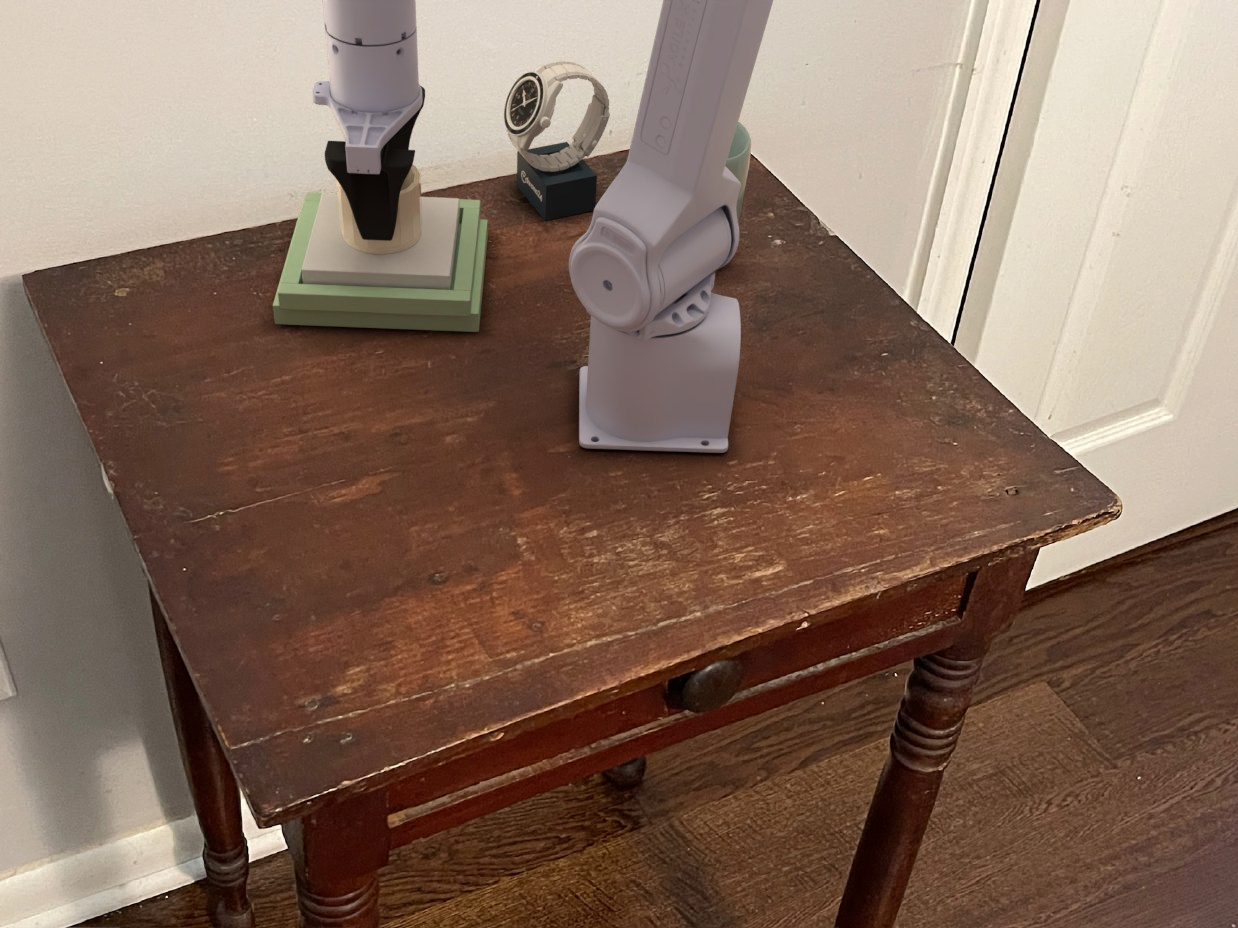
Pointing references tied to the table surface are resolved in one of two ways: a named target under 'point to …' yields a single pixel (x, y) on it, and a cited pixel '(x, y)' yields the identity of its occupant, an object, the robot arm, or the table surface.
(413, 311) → the scale
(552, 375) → the table surface
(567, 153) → the watch
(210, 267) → the table surface
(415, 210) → the cylindrical container
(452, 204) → the pan
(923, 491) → the table surface
